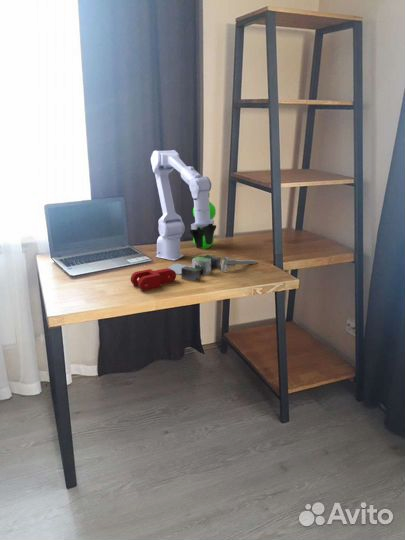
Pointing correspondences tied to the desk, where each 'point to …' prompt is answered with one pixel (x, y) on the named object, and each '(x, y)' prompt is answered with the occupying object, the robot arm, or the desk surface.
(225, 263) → the caliper
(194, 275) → the vise
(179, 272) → the mat
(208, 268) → the white block
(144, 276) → the mechanical linkage
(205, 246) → the plastic bottle
